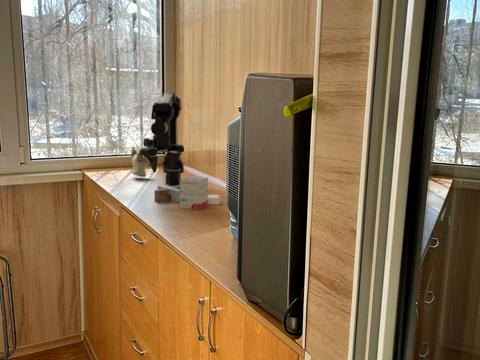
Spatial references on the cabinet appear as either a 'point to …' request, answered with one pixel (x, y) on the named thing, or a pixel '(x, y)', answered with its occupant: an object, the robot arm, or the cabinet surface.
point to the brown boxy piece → (163, 194)
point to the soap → (213, 199)
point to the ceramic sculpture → (139, 163)
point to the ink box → (194, 192)
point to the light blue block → (172, 192)
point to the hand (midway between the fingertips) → (163, 170)
